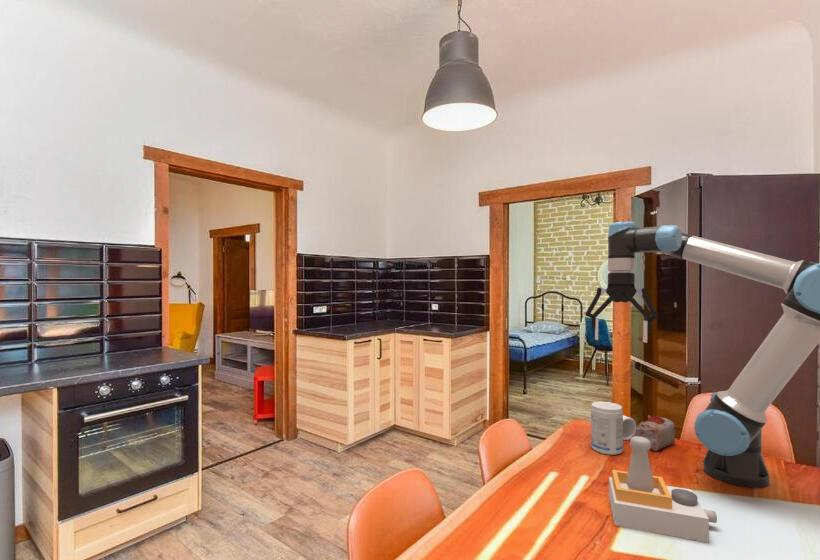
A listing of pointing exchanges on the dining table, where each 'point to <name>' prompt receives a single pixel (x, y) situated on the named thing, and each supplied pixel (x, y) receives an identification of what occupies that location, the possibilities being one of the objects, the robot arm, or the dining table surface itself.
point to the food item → (657, 432)
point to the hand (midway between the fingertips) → (620, 340)
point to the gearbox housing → (659, 509)
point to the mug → (628, 428)
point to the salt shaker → (640, 466)
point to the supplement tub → (607, 428)
